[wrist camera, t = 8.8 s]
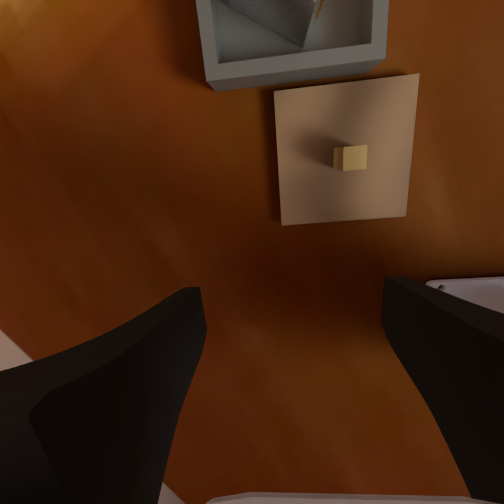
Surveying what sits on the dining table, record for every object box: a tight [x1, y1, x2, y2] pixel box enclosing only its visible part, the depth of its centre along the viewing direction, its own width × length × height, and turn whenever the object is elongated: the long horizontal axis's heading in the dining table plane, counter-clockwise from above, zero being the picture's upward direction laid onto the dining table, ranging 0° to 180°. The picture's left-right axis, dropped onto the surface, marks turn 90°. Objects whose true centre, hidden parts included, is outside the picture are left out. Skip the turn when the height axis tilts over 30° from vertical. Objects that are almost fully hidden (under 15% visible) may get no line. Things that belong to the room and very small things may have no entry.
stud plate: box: [274, 74, 419, 225], centre depth 16 cm, size 8×8×3 cm
